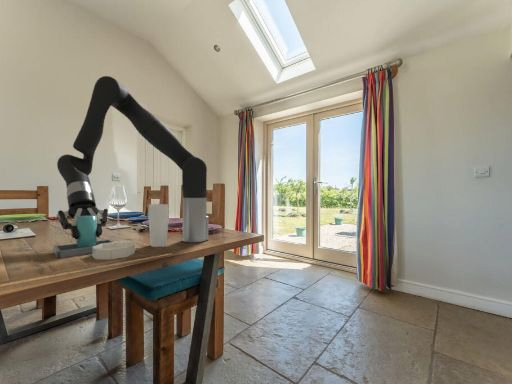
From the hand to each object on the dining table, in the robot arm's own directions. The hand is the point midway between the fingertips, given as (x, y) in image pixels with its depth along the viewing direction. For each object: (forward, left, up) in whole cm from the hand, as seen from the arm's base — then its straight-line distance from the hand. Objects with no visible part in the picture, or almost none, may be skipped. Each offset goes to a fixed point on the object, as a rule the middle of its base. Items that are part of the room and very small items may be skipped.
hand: (88, 236), depth 76 cm
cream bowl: (-5, +9, -5) cm, 11 cm away
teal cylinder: (0, -2, -5) cm, 5 cm away
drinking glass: (-20, +5, -6) cm, 21 cm away
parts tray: (0, -2, -5) cm, 6 cm away
